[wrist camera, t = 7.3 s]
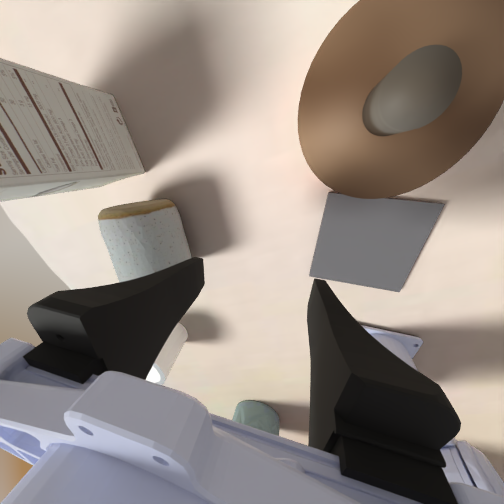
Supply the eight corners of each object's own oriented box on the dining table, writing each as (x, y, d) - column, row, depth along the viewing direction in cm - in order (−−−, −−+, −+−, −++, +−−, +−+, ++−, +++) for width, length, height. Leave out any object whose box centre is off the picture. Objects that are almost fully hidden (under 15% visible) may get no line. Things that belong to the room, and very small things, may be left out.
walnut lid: (440, 203, 13) (489, 220, 9) (288, 190, 15) (283, 199, 11) (558, -33, 8) (732, -163, 5) (314, -9, 10) (320, -91, 7)
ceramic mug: (187, 192, 21) (131, 209, 14) (205, 259, 24) (166, 298, 18) (114, 202, 24) (40, 219, 17) (139, 260, 27) (85, 293, 21)
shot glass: (155, 308, 31) (118, 345, 25) (193, 325, 30) (166, 367, 24) (153, 335, 34) (121, 373, 28) (188, 350, 34) (163, 392, 28)
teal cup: (282, 404, 34) (273, 513, 24) (284, 433, 38) (277, 537, 28) (229, 393, 37) (199, 487, 26) (236, 421, 41) (213, 512, 31)
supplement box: (101, 188, 23) (-81, 216, 12) (64, 117, 20) (-213, 70, 9) (148, 174, 21) (-21, 194, 10) (115, 92, 18) (-172, -6, 7)
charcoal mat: (397, 289, 20) (399, 292, 20) (309, 274, 22) (309, 276, 21) (441, 203, 16) (444, 204, 16) (328, 192, 18) (329, 192, 17)
